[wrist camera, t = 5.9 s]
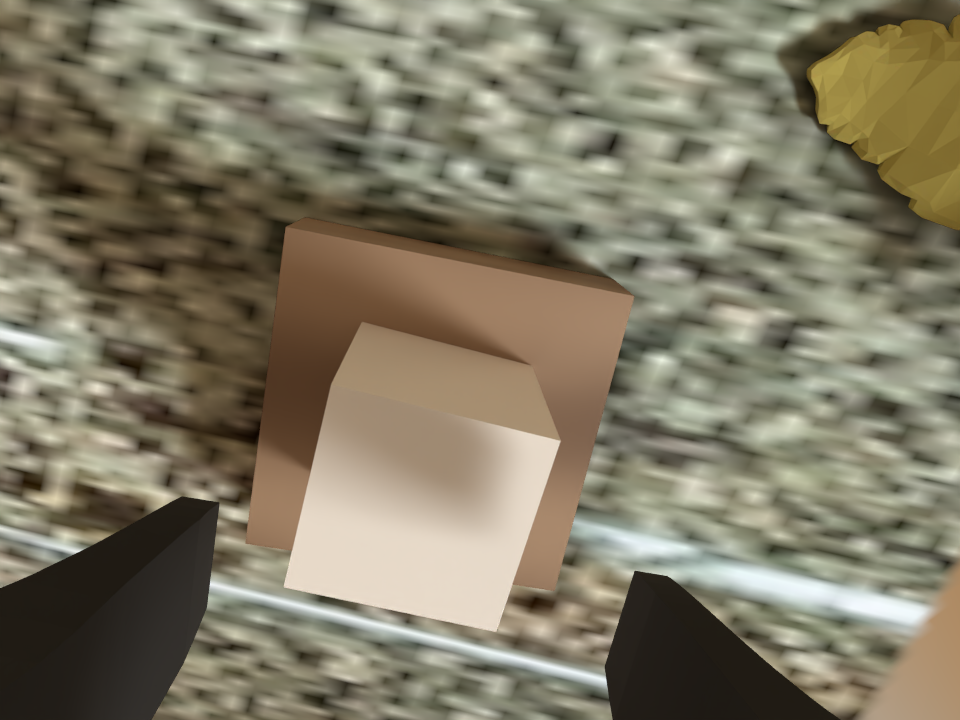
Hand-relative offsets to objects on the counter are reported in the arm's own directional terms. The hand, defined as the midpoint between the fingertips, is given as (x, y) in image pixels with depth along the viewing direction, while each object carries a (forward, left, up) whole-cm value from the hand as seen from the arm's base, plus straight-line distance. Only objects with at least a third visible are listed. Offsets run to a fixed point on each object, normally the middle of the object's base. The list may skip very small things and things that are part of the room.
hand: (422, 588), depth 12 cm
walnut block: (0, 0, -10) cm, 10 cm away
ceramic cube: (0, 0, -7) cm, 7 cm away
